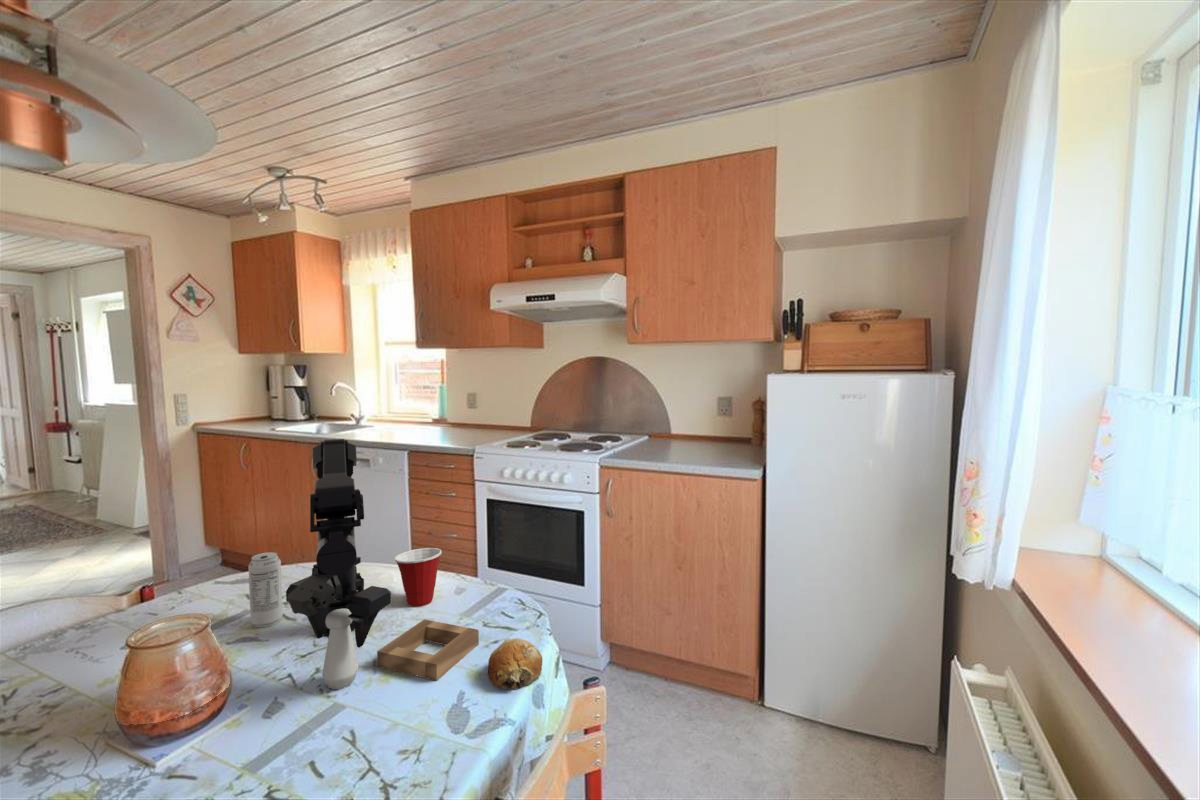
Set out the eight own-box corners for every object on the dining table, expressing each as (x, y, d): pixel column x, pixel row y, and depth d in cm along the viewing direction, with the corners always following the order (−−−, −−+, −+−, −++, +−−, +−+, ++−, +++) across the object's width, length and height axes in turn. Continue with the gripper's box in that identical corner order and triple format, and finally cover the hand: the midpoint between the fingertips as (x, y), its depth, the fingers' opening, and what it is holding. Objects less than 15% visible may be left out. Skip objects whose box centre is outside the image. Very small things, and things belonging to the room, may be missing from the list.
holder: (377, 666, 98) (377, 651, 98) (424, 633, 110) (424, 619, 110) (436, 680, 93) (436, 664, 93) (478, 644, 106) (478, 629, 106)
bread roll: (547, 689, 97) (554, 642, 100) (523, 695, 88) (532, 644, 91) (500, 679, 100) (508, 634, 103) (473, 684, 91) (483, 634, 94)
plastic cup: (425, 588, 133) (424, 542, 133) (452, 599, 127) (451, 550, 126) (386, 603, 125) (384, 554, 124) (413, 616, 118) (412, 564, 118)
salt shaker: (344, 694, 89) (341, 621, 89) (315, 691, 90) (312, 618, 90) (365, 675, 95) (363, 605, 94) (338, 672, 96) (336, 603, 95)
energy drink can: (286, 614, 119) (283, 550, 119) (278, 626, 114) (276, 559, 113) (255, 618, 117) (253, 553, 117) (246, 630, 112) (244, 562, 111)
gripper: (255, 565, 87) (258, 655, 88) (341, 579, 81) (344, 677, 82) (312, 544, 98) (315, 625, 98) (392, 555, 91) (394, 642, 92)
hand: (339, 641), depth 92 cm, fingers open, 9 cm apart
